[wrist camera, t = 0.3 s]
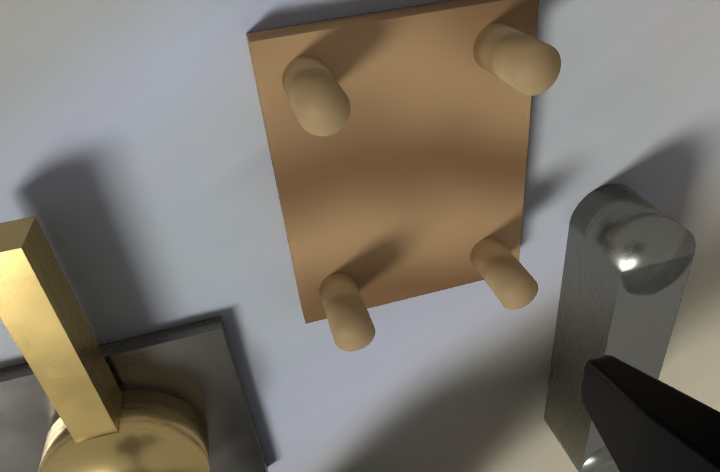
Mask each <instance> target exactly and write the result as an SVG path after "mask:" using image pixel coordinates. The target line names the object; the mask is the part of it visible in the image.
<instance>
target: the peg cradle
mask: <svg viewBox="0 0 720 472" xmlns="http://www.w3.org/2000/svg"><path fill="white" fill-rule="evenodd" d="M538 4H539V0H450V1H443V2H437V3H431V4H425V5H419V6H413V7H406V8H400V9H394V10H388V11H382V12H375V13H369V14H363V15H357V16H351V17H345V18H338V19H332V20H326V21H320V22H314V23H307V24H301V25H295V26H289V27H283V28H276V29H270V30H264V31H258V32H252V33H246V35H247V40H248V45H249V50H250V55H251V60H252V65H253V70H254V75H255V80H256V85H257V90H258V95H259V100H260V105H261V109H262V114H263V119H264V124H265V129H266V134H267V139H268V144H269V149H270V154H271V159H272V164H273V169H274V174H275V179H276V184H277V189H278V194H279V199H280V204H281V208H282V213H283V218H284V223H285V228H286V233H287V238H288V243H289V248H290V253H291V258H292V263H293V268H294V273H295V278H296V283H297V288H298V293H299V298H300V302H301V307H302V311H303V315H304V318H305V322H306V323H310V322H314V321H318V320H322V319H328V322H329V325H330V328H331V332H332V335H333V338H334V341H335V344H336V345H337V346H338V347H339V348H340V349H342V350H345V351H356V350H360V349H362V348H364V347H366V346H367V345H368V344H369V343H370V342H371V341H372V340H373V338H374V336H375V328H374V325H373V323H372V320H371V318H370V316H369V313H368V311H367V308H371V307H375V306H379V305H383V304H387V303H391V302H395V301H399V300H404V299H408V298H412V297H416V296H420V295H424V294H428V293H432V292H436V291H440V290H444V289H448V288H452V287H456V286H460V285H464V284H468V283H472V282H476V281H481V280H485V281H486V283H487V284H488V286H489V287H490V288H491V290H492V291H493V292H494V294H495V295H496V296H497V298H498V299H499V300H500V302H501V303H502V305H503V306H504V307H506V308H508V309H519V308H522V307H524V306H526V305H527V304H529V303H530V302H531V301H532V300H533V299H534V297H535V296H536V294H537V291H538V284H537V282H536V281H535V280H534V279H533V277H532V276H531V275H530V274H529V273H528V272H527V270H526V269H525V268H524V267H523V266H522V265H521V263H520V262H519V254H520V241H521V228H522V215H523V202H524V188H525V175H526V162H527V149H528V136H529V122H530V109H531V96H534V95H538V94H541V93H543V92H545V91H546V90H547V89H549V88H550V87H551V86H552V85H553V83H554V82H555V81H556V79H557V77H558V75H559V72H560V68H561V59H560V55H559V53H558V51H557V50H556V49H555V48H554V47H552V46H551V45H549V44H546V43H544V42H542V41H540V40H538V39H536V30H537V17H538Z"/></svg>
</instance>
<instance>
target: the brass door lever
mask: <svg viewBox="0 0 720 472" xmlns="http://www.w3.org/2000/svg"><path fill="white" fill-rule="evenodd" d="M0 317H1V319H2V321H3V322H4V324H5V326H6V327H7V329H8V331H9V332H10V334H11V336H12V337H13V339H14V341H15V342H16V344H17V346H18V347H19V349H20V351H21V352H22V354H23V356H24V357H25V359H26V361H27V362H28V364H29V366H30V367H31V369H32V371H33V372H34V374H35V376H36V377H37V379H38V381H39V382H40V384H41V386H42V387H43V389H44V391H45V392H46V394H47V396H48V397H49V399H50V401H51V402H52V404H53V406H54V407H55V409H56V411H57V412H58V414H59V416H60V418H58V420H57V421H56V422H55V423H54V424H53V426H52V427H51V429H50V431H49V433H48V435H47V438H46V442H45V446H44V450H43V454H42V458H41V462H40V466H39V470H38V472H210V465H209V440H208V429H207V425H206V423H205V421H204V419H203V417H202V416H201V415H200V413H199V412H198V411H197V410H196V409H194V408H193V407H192V406H191V405H189V404H188V403H186V402H184V401H182V400H180V399H179V398H176V397H173V396H171V395H167V394H163V393H159V392H153V391H143V390H128V391H121V390H120V388H119V386H118V384H117V382H116V380H115V378H114V376H113V374H112V372H111V370H110V368H109V366H108V364H107V362H106V360H105V358H104V356H103V354H102V351H101V349H100V347H99V345H98V343H97V341H96V339H95V337H94V335H93V333H92V331H91V329H90V327H89V325H88V323H87V321H86V319H85V317H84V315H83V313H82V311H81V309H80V307H79V305H78V302H77V300H76V298H75V296H74V294H73V292H72V290H71V288H70V286H69V284H68V282H67V280H66V278H65V276H64V274H63V272H62V270H61V268H60V266H59V264H58V262H57V260H56V258H55V256H54V253H53V251H52V249H51V247H50V245H49V243H48V241H47V239H46V237H45V235H44V233H43V231H42V229H41V227H40V225H39V223H38V221H37V219H36V217H35V216H34V217H29V218H24V219H19V220H14V221H9V222H4V223H0Z"/></svg>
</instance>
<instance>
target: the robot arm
mask: <svg viewBox="0 0 720 472" xmlns="http://www.w3.org/2000/svg"><path fill="white" fill-rule="evenodd" d="M580 394H581V399H582V402H583V404H584V406H585V408H586V410H587V412H588V414H589V416H590V418H591V419H592V421H593V423H594V425H595V427H596V429H597V431H598V433H599V434H600V436H601V438H602V440H603V442H604V444H605V446H606V447H607V449H608V451H609V453H610V455H611V457H612V459H613V460H614V462H615V464H616V466H617V468H618V470H619V472H720V412H719V411H717V410H715V409H713V408H711V407H709V406H707V405H705V404H703V403H701V402H699V401H698V400H696V399H694V398H692V397H690V396H688V395H686V394H684V393H682V392H680V391H679V390H677V389H675V388H673V387H671V386H669V385H667V384H665V383H663V382H661V381H659V380H658V379H656V378H654V377H652V376H650V375H648V374H646V373H644V372H642V371H640V370H638V369H637V368H635V367H633V366H631V365H629V364H627V363H625V362H623V361H621V360H619V359H618V358H616V357H614V356H611V355H602V356H598V357H595V358H591V359H588V360H587V361H586V362H585V364H584V369H583V376H582V382H581V389H580Z"/></svg>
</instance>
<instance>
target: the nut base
mask: <svg viewBox="0 0 720 472" xmlns="http://www.w3.org/2000/svg"><path fill="white" fill-rule="evenodd" d="M99 347H100V349H101V351H102V354H103V356H104V358H105V360H106V362H107V364H108V366H109V368H110V370H111V372H112V374H113V376H114V378H115V380H116V382H117V384H118V386H119V388H120V390H121V391H128V390H143V391H153V392H159V393H163V394H167V395H171V396H173V397H176V398H179V399H180V400H182V401H184V402H186V403H188V404H189V405H191V406H192V407H193V408H194V409H196V410H197V411H198V412H199V413H200V415H201V416H202V417H203V419H204V421H205V423H206V425H207V429H208V440H209V465H210V472H268V467H267V464H266V461H265V457H264V454H263V451H262V448H261V444H260V441H259V438H258V435H257V432H256V428H255V425H254V422H253V419H252V415H251V412H250V409H249V406H248V403H247V399H246V396H245V393H244V390H243V386H242V383H241V380H240V377H239V374H238V370H237V367H236V364H235V361H234V357H233V354H232V351H231V348H230V345H229V341H228V338H227V335H226V332H225V329H224V325H223V322H222V319H221V317H217V318H213V319H209V320H205V321H201V322H197V323H192V324H188V325H184V326H180V327H176V328H171V329H167V330H163V331H159V332H155V333H150V334H146V335H142V336H138V337H134V338H130V339H125V340H121V341H117V342H113V343H109V344H104V345H100V346H99ZM58 418H60V416H59V414H58V412H57V411H56V409H55V407H54V406H53V404H52V402H51V401H50V399H49V397H48V396H47V394H46V392H45V391H44V389H43V387H42V386H41V384H40V382H39V381H38V379H37V377H36V376H35V374H34V372H33V371H32V369H31V367H30V366H29V364H28V363H25V364H21V365H17V366H12V367H8V368H4V369H0V472H38V470H39V466H40V462H41V458H42V454H43V450H44V446H45V442H46V438H47V435H48V433H49V431H50V429H51V427H52V426H53V424H54V423H55V422H56V421H57V420H58Z"/></svg>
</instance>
